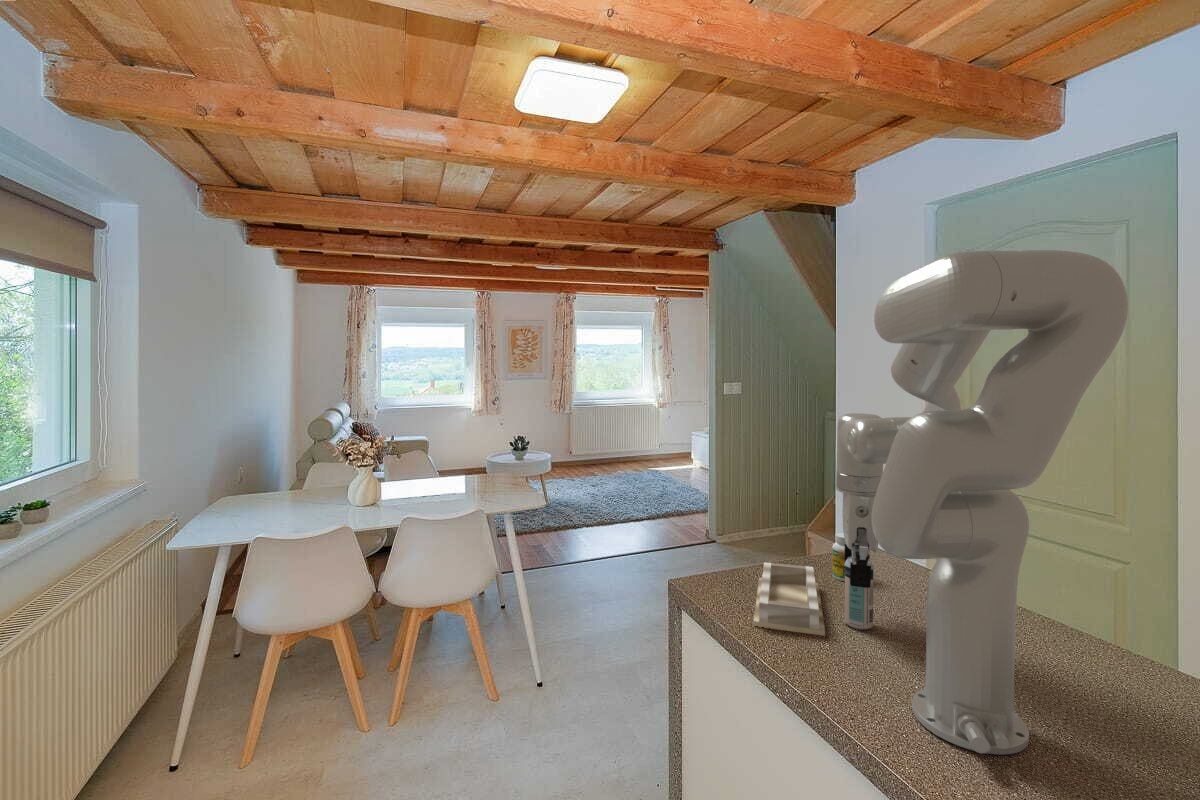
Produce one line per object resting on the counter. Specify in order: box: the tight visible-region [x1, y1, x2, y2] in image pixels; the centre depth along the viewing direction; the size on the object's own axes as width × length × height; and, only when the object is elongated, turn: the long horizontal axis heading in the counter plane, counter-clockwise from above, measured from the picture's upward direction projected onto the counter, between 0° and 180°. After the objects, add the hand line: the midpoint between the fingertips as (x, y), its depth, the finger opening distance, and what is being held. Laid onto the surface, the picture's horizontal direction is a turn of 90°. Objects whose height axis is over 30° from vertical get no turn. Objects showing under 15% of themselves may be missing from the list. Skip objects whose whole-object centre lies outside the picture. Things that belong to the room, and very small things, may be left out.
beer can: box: [843, 557, 875, 631], centre depth 99 cm, size 5×5×12 cm
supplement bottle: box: [831, 532, 846, 582], centre depth 122 cm, size 5×5×10 cm
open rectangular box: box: [752, 562, 826, 637], centre depth 108 cm, size 22×12×4 cm, turn 161°
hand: (856, 575), depth 100 cm, fingers open, 9 cm apart
